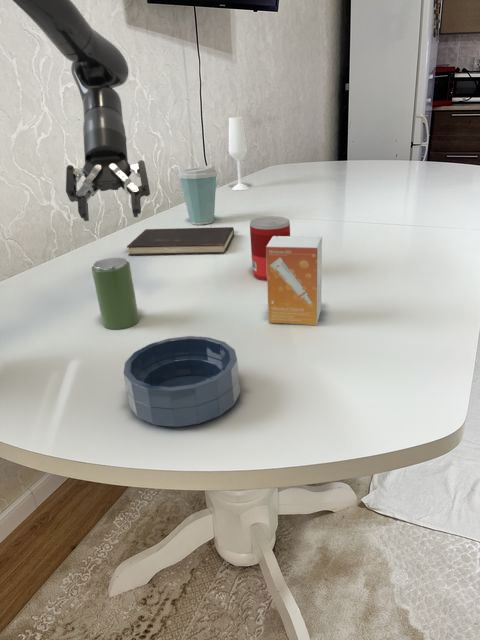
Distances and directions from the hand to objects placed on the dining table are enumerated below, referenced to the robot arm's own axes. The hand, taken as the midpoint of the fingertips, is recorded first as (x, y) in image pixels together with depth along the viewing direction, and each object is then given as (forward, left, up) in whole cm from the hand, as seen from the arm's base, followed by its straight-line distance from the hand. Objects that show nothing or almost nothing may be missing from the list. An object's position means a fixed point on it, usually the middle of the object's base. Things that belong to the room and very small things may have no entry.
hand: (110, 216), depth 92 cm
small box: (+29, -17, -16) cm, 37 cm away
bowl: (+10, -38, -15) cm, 42 cm away
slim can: (0, -11, -15) cm, 19 cm away
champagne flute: (+35, +102, -16) cm, 109 cm away
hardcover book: (+12, +33, -16) cm, 38 cm away
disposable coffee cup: (+18, +55, -16) cm, 60 cm away
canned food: (+29, +5, -16) cm, 33 cm away
